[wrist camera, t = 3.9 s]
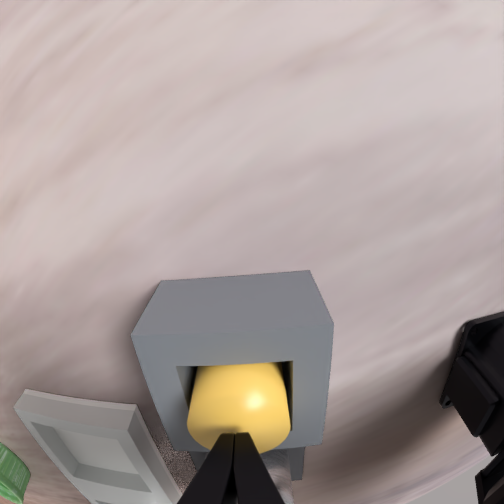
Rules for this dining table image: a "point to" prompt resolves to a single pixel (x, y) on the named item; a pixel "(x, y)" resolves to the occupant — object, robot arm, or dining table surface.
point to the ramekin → (12, 476)
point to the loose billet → (279, 472)
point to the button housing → (237, 344)
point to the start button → (240, 404)
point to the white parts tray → (99, 448)
